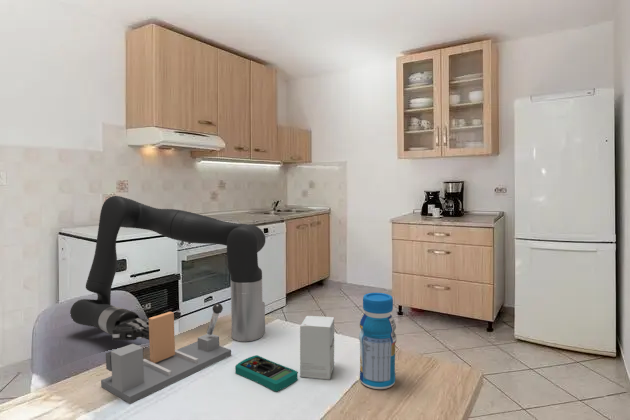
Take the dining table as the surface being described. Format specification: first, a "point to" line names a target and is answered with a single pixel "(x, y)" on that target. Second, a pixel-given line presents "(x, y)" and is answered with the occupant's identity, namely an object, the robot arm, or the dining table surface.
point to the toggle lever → (214, 318)
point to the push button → (108, 361)
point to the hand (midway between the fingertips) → (154, 335)
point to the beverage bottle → (377, 342)
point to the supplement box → (317, 347)
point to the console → (159, 367)
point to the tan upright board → (161, 337)
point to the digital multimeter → (266, 373)
